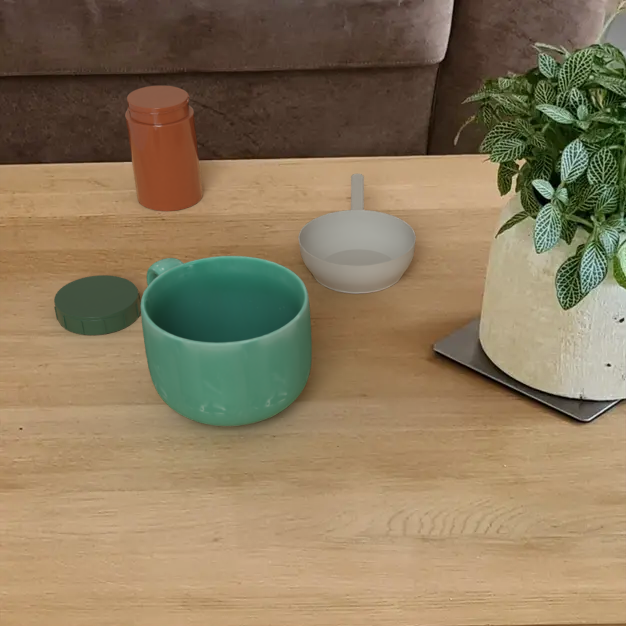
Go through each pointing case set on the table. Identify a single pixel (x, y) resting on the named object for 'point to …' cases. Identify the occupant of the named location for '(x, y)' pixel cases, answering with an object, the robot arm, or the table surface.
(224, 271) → the mug
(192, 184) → the jam jar
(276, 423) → the table surface
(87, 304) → the jar lid
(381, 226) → the small pan
